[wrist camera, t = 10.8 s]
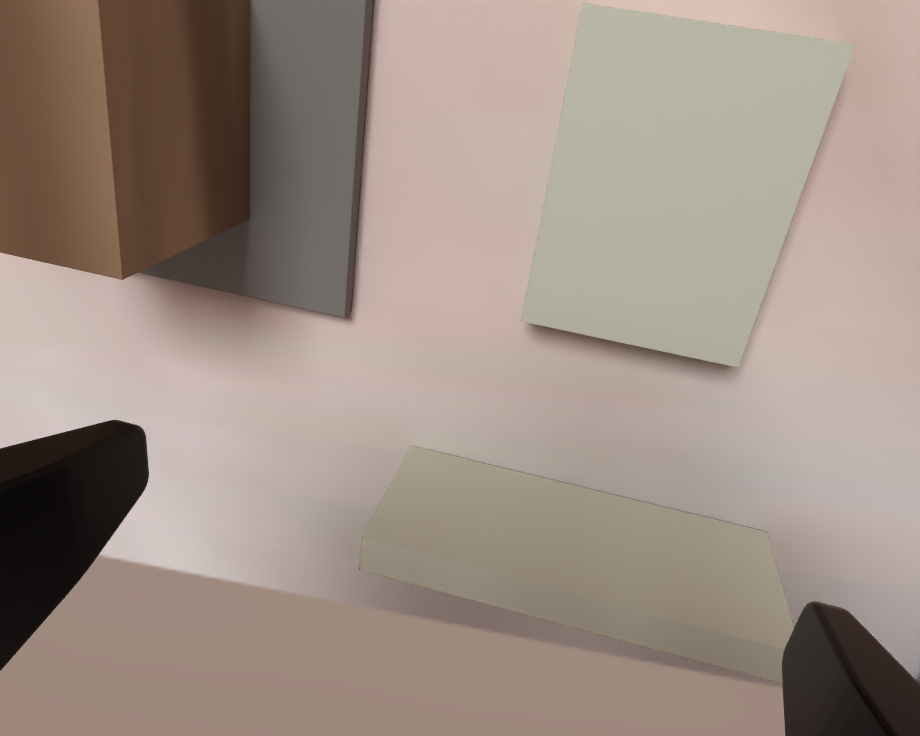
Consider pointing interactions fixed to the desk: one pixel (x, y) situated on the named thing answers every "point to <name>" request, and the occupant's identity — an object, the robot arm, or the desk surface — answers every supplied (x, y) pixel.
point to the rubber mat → (296, 161)
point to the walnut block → (122, 129)
